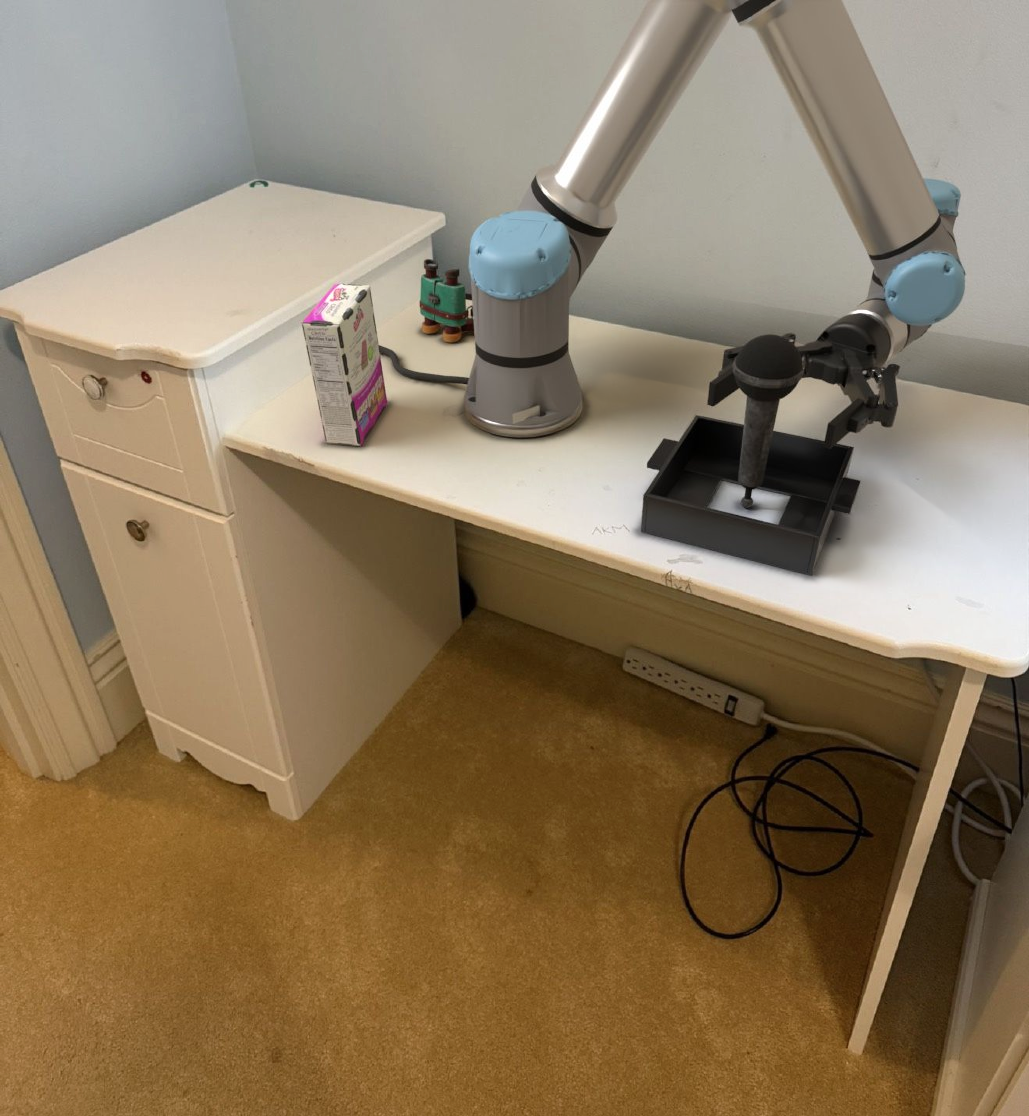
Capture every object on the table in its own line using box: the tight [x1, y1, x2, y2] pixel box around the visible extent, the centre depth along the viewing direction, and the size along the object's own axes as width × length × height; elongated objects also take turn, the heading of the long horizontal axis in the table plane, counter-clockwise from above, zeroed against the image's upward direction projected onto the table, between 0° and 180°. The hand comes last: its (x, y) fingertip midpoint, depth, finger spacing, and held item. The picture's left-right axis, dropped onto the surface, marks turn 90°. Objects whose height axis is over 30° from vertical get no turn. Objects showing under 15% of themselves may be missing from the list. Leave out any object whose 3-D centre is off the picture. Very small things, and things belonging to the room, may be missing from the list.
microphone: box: [732, 333, 804, 509], centre depth 94 cm, size 7×7×20 cm
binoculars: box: [419, 258, 474, 343], centre depth 136 cm, size 9×11×10 cm
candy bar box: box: [300, 283, 388, 447], centre depth 112 cm, size 11×5×16 cm, turn 168°
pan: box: [640, 414, 862, 576], centre depth 99 cm, size 22×18×5 cm
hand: (767, 414), depth 94 cm, fingers open, 13 cm apart
